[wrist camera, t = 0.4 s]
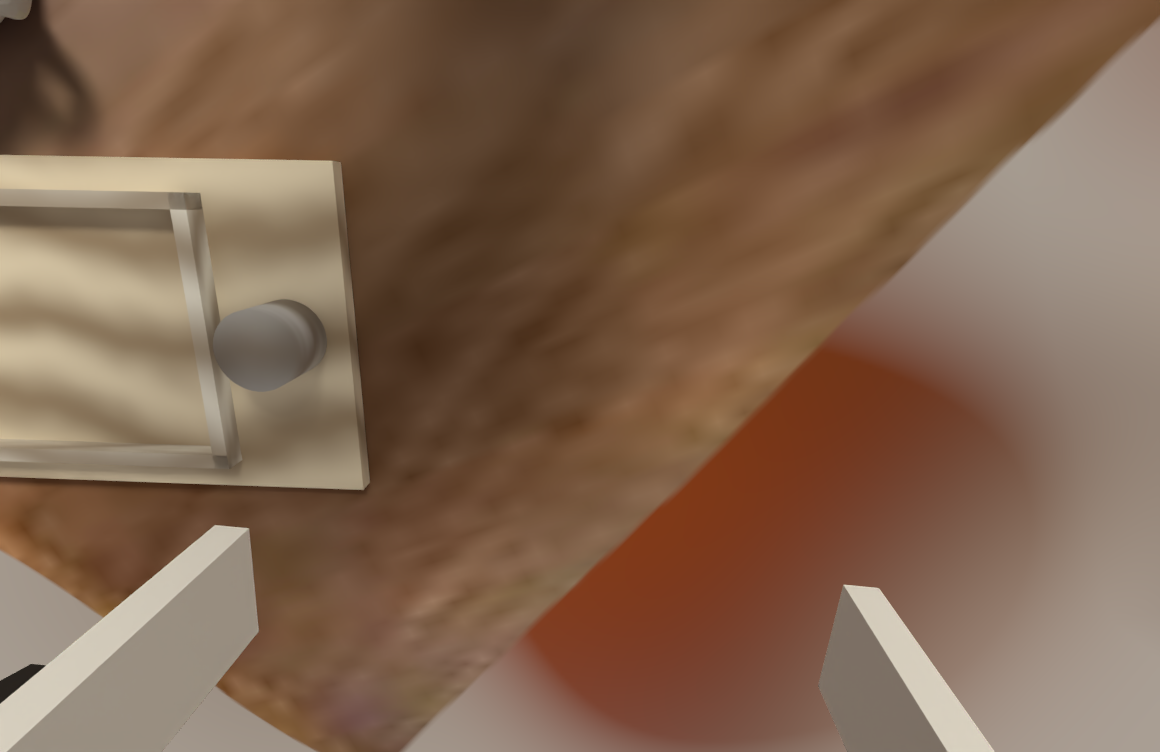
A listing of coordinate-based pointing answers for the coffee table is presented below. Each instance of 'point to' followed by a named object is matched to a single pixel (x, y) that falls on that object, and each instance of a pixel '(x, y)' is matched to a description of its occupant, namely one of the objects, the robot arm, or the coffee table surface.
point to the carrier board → (178, 322)
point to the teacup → (14, 9)
